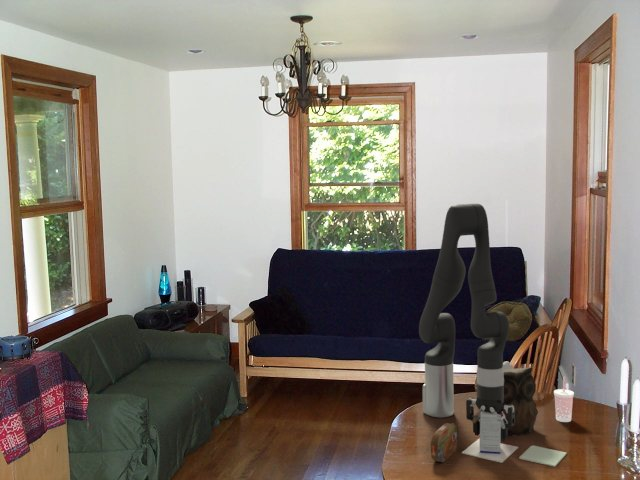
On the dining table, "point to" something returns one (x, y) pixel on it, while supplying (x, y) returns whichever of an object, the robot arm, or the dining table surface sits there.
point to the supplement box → (490, 433)
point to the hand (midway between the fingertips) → (490, 437)
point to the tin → (444, 442)
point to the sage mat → (543, 455)
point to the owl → (520, 399)
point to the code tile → (504, 453)
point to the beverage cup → (563, 403)
